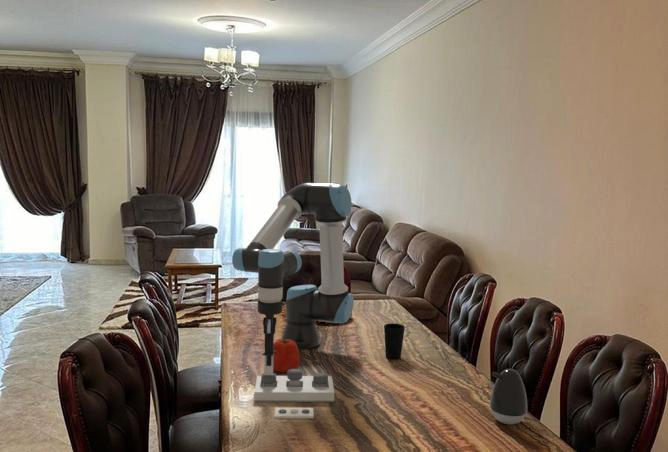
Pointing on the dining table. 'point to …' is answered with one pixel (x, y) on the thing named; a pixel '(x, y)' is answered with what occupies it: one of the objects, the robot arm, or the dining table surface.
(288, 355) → the apple
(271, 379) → the button
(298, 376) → the button
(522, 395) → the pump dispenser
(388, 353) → the cup
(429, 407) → the dining table surface
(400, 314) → the dining table surface
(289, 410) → the pattern card
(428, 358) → the dining table surface
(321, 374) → the button
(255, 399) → the board
